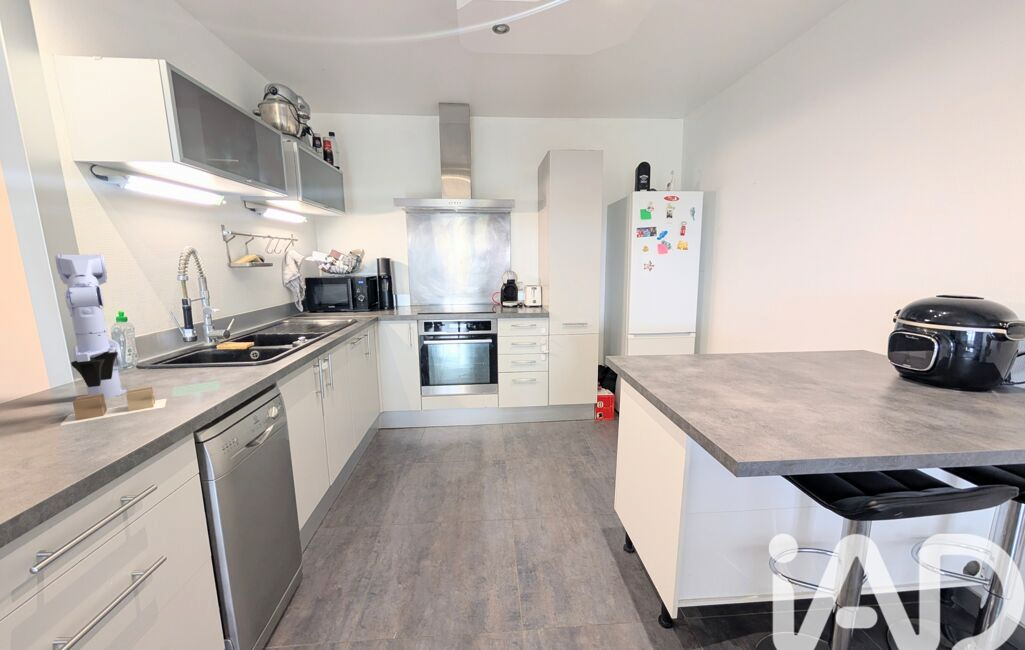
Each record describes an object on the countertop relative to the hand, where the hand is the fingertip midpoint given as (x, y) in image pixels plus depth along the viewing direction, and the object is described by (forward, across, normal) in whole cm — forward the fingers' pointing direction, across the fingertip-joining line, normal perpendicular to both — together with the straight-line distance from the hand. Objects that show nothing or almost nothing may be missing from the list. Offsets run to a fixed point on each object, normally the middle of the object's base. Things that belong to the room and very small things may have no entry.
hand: (100, 382), depth 104 cm
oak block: (+9, +3, -7) cm, 12 cm away
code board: (+10, +2, -2) cm, 10 cm away
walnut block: (+9, +2, +3) cm, 10 cm away
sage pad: (+9, +16, -17) cm, 25 cm away
